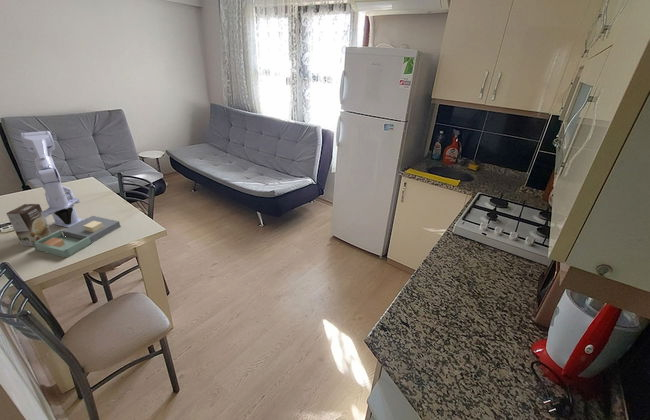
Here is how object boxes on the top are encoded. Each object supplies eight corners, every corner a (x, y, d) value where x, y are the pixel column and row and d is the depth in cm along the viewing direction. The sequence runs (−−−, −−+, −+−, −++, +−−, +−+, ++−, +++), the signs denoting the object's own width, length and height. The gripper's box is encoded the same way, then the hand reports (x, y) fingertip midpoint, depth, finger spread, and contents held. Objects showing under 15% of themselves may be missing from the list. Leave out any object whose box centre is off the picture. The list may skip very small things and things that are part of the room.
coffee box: (37, 246, 127) (22, 213, 119) (21, 246, 126) (5, 213, 119) (53, 234, 135) (39, 203, 128) (38, 234, 134) (23, 203, 127)
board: (64, 236, 134) (61, 230, 133) (94, 220, 147) (92, 215, 146) (92, 242, 131) (90, 237, 130) (120, 226, 144) (119, 221, 143)
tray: (35, 249, 125) (32, 243, 123) (62, 236, 134) (59, 230, 132) (67, 257, 121) (64, 250, 120) (91, 243, 131) (89, 237, 129)
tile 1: (53, 237, 128) (55, 242, 129) (41, 243, 124) (43, 248, 125) (62, 239, 127) (64, 244, 128) (50, 245, 123) (53, 250, 124)
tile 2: (84, 230, 134) (83, 225, 133) (95, 225, 139) (93, 220, 137) (93, 232, 133) (92, 227, 132) (103, 227, 138) (102, 222, 136)
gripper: (45, 204, 117) (58, 233, 123) (80, 191, 129) (90, 217, 136) (32, 201, 118) (45, 230, 125) (68, 188, 131) (78, 214, 137)
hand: (68, 223), depth 130 cm, fingers closed
